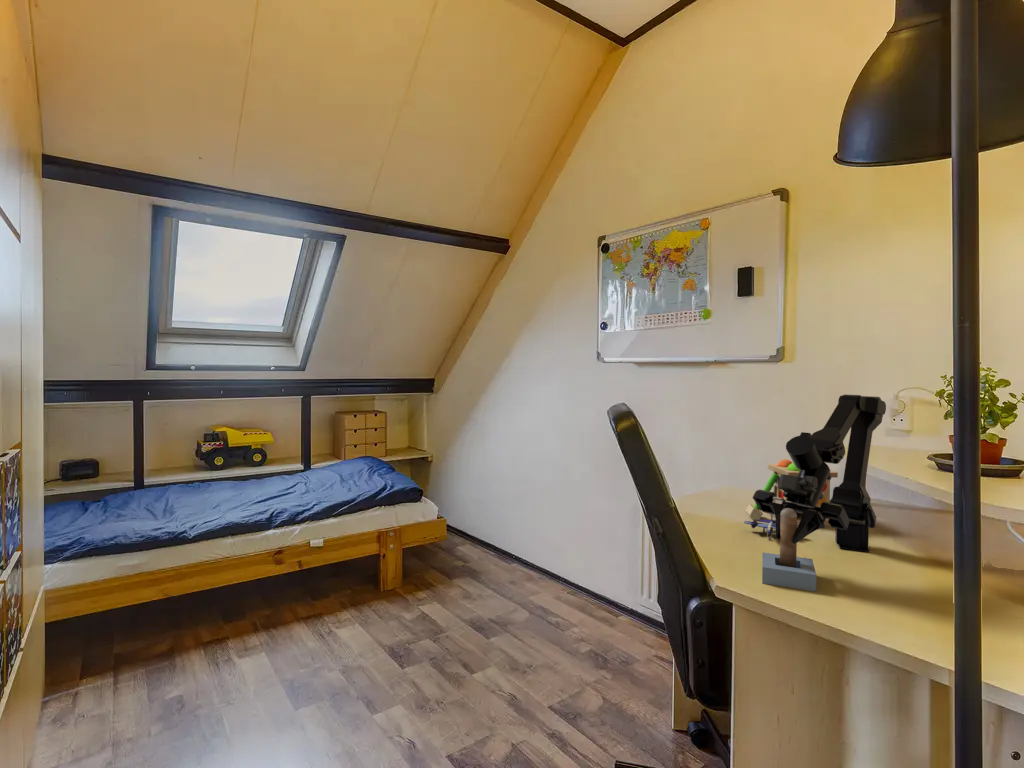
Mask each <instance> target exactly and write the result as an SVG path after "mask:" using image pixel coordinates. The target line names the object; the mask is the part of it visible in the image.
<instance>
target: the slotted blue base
mask: <svg viewBox="0 0 1024 768" xmlns="http://www.w3.org/2000/svg"><path fill="white" fill-rule="evenodd" d="M761 554H762V558H761V559H762V562H761V563H762V565H761V567H762V568H761V572H762V573H761V574H762V575H761V576H762V577H761V578H762V581H761V582H762V584H765V585H772V586H777V587H784V588H791V589H797V590H802V591H803V590H804V591H807V592H808V591H809V592H816V593H817V572H816V568H815V564H814V561H813V558H807V557H799V556H796V568H793V567H786V566H780V553H772V552H771V553H770V552H762V553H761Z"/></svg>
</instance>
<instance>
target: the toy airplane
mask: <svg viewBox="0 0 1024 768" xmlns="http://www.w3.org/2000/svg"><path fill="white" fill-rule="evenodd" d="M770 517H771V518H770V519H761V518H760V519H759V520H758V521H757V520H754V519H753V521H751V520H750V521H748V520H744V522H743V523H744V524H745V525H750V526H751V529H756V527H758V528H762V532H763V533H765V532H767V538H766V539H768V541H771V540H772V537H771V536H769V535H772V534H774V530H776V520H773V517H772V514H771V516H770Z"/></svg>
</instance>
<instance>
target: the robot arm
mask: <svg viewBox="0 0 1024 768" xmlns="http://www.w3.org/2000/svg"><path fill="white" fill-rule="evenodd" d="M886 411H887V405H886V401H884V400H883V399H882V398H881V397H880V396H868V395H865V396H864V395H861V394H842V395H840V396H839V397H838V403H837V405H836V407H835V408H834V409H833V412H832V413H831V415H829V418H828V420H827V421H826V423H824V424H825V425H824V426H823V428H822V429H819V430H816V431H815V432H813V433H811V432H804V431H802V432H800V434H799V435H797V436H794V437H792V438H790V439H789V440H788V441H787V442H786V444H785V449H786V452H787V453H788V455H789V457H790V459H791V462H792V463H794V465H795V466H796V467H797V468H798V469H800V471H799V473H798V475H797V476H791V475H785V474H781V476H780V481H779V485H778V488H779V489H782V490H783V491H784V492H783V495H784V497H787V500H784V499H783V498H779V497H776V495H775V493H774V492H773V491H771V490H770V491H765V490H763V489H757V490H756V491H755V492H754V493H753V496H752V499H753V500H754V502H755V504H757V506H758V507H759V509H760V511H761V512H762V513H765V514H766V513H770V514H775V518H776V519H775V518H774V519H775V521H776V529H775V538H776V540H779V541H780V514H781V511H782V510H783V509H785V508H791V509H793V510H794V511H795V512H799V513H802V519H801V521H800V523H799V525H798V526H797V529H796V531H795V534H794V536H793V540H792V542H793V543H794V544H796V543H797V544H798V543H799V542H800V541H802V540H803V539H804V538H806V537H807V536H808V535H811V534H812V533H814V532H815V531H817V530H819V529H825V527H826V526H825V525H824V522H825V520H827V518H828V519H829V521H828V523H829V524H830V526H829V527H831V528H834V529H835V537H834V539H835V543H836V545H837V546H838V548H839V549H842V550H849V551H850V550H851V551H856V552H857V551H860V552H865V553H870V552H871V549H870V547H869V537H870V535H869V530H870V528H871V529H874V528H876V523H877V515H876V513H875V511H874V509H873V507H872V505H871V497H870V494H869V493H868V490H867V489H866V487H865V486H866V478H867V473H868V465H869V458H870V453H871V445H872V437H873V432H874V431H875V430H876V429H877V427H879V426H880V425H881V424H882V422H883V417H884V415H885V414H886ZM849 432H850V433H849ZM848 433H849V440H848V447H847V451H846V448H845V445H844V440H845V439H846V437H847V435H848ZM846 452H847V453H846ZM844 456H846V458H845V459H846V460H845V467H844V473H843V479H842V482H841V483H840V484H839V485H838V486H834V487H833V489H832V496H831V498H830V500H831V501H830V503H828V502H823V503H822V504H821V506H820V507H821V508H820V507H816V505H817V503H818V500H819V499H821V500H822V498H823V494H822V491H823V488H824V486H825V483H826V481H827V479H828V480H830V481H831V480H832V478H831V474H830V470H831V468H830V467H829V465H828V464H835V465H838V464H839V463H840V462H841V461H842V460H843V459H844ZM827 463H828V464H827Z"/></svg>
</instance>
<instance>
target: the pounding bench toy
mask: <svg viewBox="0 0 1024 768" xmlns="http://www.w3.org/2000/svg"><path fill="white" fill-rule="evenodd" d="M767 469H768V470H770V471H772V474H771V476H770V477H769V479H768V481H766V485H765V486H764V488H763V489H762V490H765V491H770V492H771V490H772V492H774V493H775V495H776V497H779V498H783V499H784V500H787V497H784V495H783V492H784V491H783V490H782V489H779V488H778V485H779V481H780V476H781V474H785V475H791V476H797V475H798V473H799V471H800V469H798V468H797V467H796V466H795V465H794V463H793V461H792V460H790V459H786V458H785V459H782V460H779V462H778V463H767ZM830 474H831V479H832V478H833V479H834V478H838V475H839V473H838V472H837V471H835V470H831V469H830ZM830 493H831V480H828V479H827V481H826V483H825V486H824V488H823V491H822V494H823V498H822V500H821V499H819V500H818V503H817V505H816V507H820V506H821V504H822V503H823V502H828V503H830V501H831V494H830ZM820 508H821V507H820ZM745 513H746V514H747V516H749V518H751V519H752V520H753V521H754V520H756V521H757V520H759V519H761V518H762V516H763V515H764V514H763V513H764V512H762V511H761V510H760V509H759V507H758V506H757V504H756V503H754V505H752V504H748V505H747V507H746V510H745ZM768 514H769V515H768ZM796 514H797V527H798V525H799V523H800V521H801V519H802V513H799V512H796ZM767 515H768V516H770V517H771V514H770V513H767ZM773 517H774V518H773ZM772 518H773V519H775V514H772ZM828 521H829V519H828V518H827V520H825V522H824V525H825V527H831V526H830V524H829V523H828Z"/></svg>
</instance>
